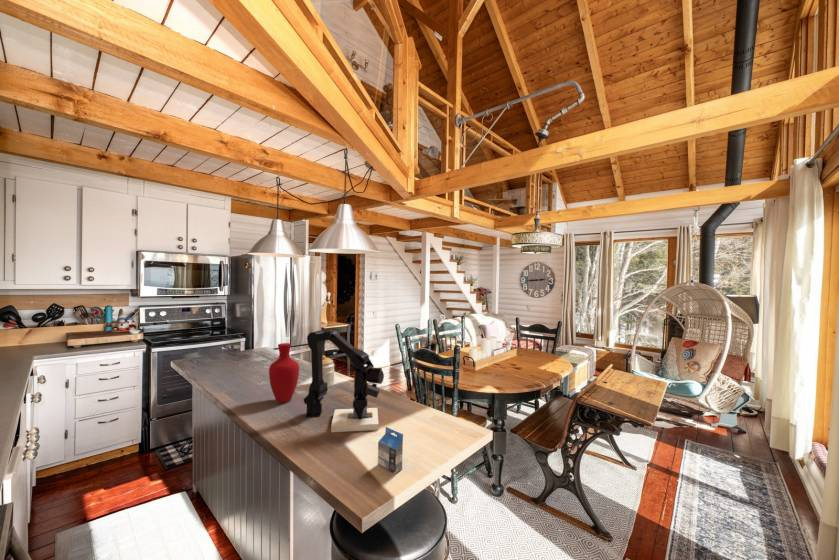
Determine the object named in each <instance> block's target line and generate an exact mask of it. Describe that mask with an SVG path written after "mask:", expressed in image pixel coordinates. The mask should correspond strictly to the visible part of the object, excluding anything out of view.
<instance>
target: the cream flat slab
mask: <svg viewBox="0 0 839 560" xmlns="http://www.w3.org/2000/svg"><path fill="white" fill-rule="evenodd" d="M353 410H354V408H340V409H338V408H337V409H334V413H333V417H332V421H331V425H330V426H331V427H330V433H342V432H346V433H347V432H360V431H363V432H364V431H379V414H378V413H379V412H378V407H367V413H368V412H372V417H370V418H363V419H353V418H349V419H348V413H353Z"/></svg>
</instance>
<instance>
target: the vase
mask: <svg viewBox="0 0 839 560" xmlns="http://www.w3.org/2000/svg"><path fill="white" fill-rule="evenodd" d="M291 346H292V343H289V342H284V343H283V342H281V343H278V344H277V347H278V354H279V356H278V358H277V359H276V360H275V361H273V362H272V363H271V364H270V366H269V370H268V377H269V383H270V388H271V392H272V393H273V396H274V399H275V400H276V402H277V403H279V404H286V403H289V402H290V401H291V400H292V399H293V397H294V394H295V392H296V388H297V385H298V381H299V376H300V365H299V363H298V362H297V361H296V360H294V359H293V358H291V356H290V355H291V354H290V353H291V352H290V351H291V348H292V347H291Z"/></svg>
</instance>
